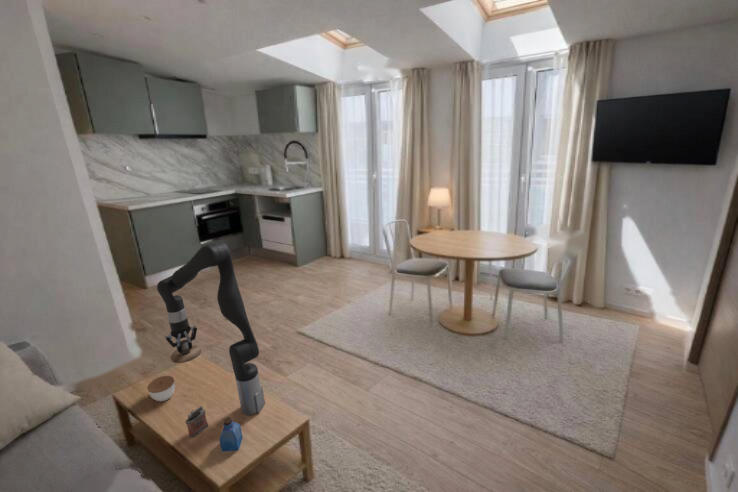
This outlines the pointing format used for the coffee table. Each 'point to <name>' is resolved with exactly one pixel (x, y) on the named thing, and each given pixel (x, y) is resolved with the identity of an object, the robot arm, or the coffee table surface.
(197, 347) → the walnut lid
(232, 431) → the perfume bottle
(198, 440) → the coffee table surface
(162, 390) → the lidded jar
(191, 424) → the lighter
